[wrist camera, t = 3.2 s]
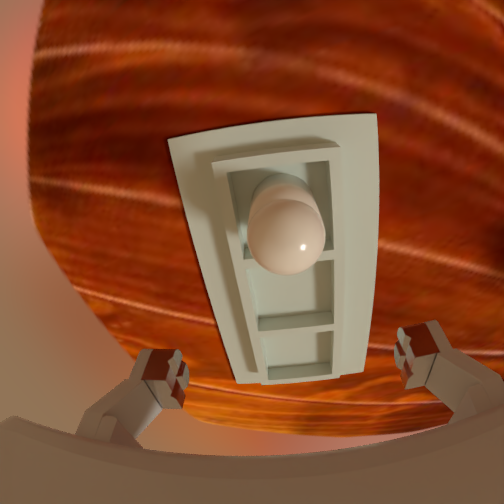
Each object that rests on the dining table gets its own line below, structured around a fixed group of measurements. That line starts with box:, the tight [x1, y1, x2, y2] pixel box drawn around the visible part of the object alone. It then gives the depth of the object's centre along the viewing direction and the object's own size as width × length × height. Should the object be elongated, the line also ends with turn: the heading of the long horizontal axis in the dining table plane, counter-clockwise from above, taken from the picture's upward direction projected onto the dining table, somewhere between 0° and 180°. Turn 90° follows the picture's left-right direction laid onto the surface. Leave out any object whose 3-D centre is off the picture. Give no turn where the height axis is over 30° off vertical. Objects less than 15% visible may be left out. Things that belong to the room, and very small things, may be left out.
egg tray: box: [168, 113, 379, 385], centre depth 25 cm, size 26×14×2 cm, turn 9°
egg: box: [247, 173, 326, 276], centre depth 18 cm, size 4×4×7 cm
